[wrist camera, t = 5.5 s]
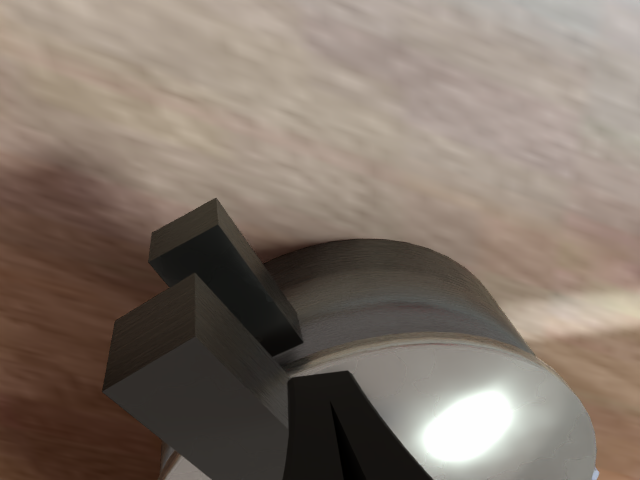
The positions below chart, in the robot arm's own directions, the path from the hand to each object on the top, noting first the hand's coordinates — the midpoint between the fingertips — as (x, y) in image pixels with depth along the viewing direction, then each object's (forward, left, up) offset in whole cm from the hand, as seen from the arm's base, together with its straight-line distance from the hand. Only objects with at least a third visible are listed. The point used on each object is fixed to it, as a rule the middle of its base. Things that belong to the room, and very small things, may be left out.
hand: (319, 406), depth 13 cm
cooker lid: (-8, -2, -4) cm, 9 cm away
